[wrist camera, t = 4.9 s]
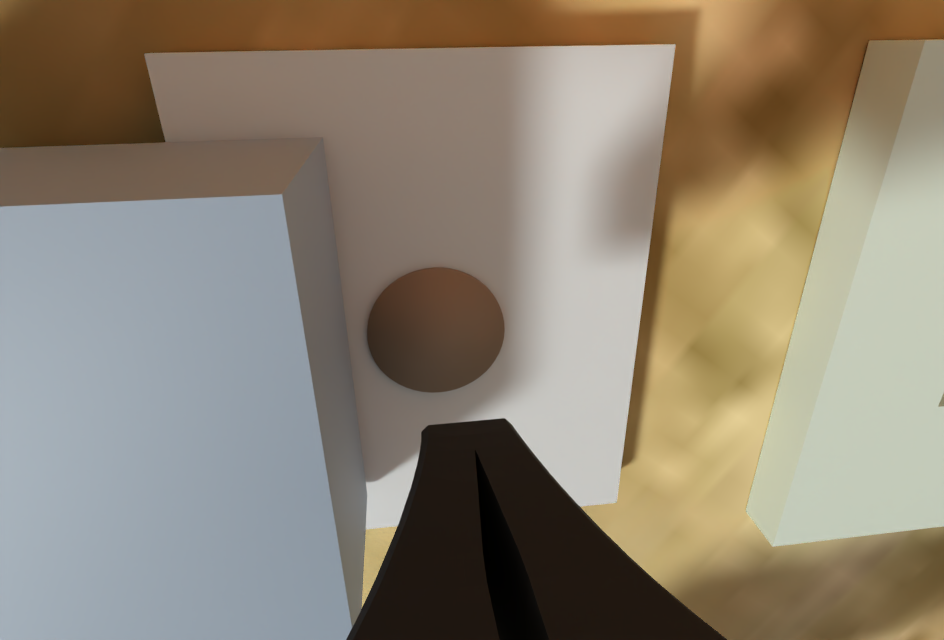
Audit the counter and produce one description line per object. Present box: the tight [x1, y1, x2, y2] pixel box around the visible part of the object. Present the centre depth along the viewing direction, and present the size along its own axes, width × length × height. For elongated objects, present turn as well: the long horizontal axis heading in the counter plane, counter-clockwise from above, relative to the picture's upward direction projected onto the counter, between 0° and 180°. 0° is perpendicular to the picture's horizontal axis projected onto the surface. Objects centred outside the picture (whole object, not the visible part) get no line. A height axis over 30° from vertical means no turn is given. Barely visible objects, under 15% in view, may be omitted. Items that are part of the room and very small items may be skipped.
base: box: [144, 44, 676, 529], centre depth 14 cm, size 12×10×1 cm
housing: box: [0, 137, 367, 640], centre depth 10 cm, size 9×9×5 cm
